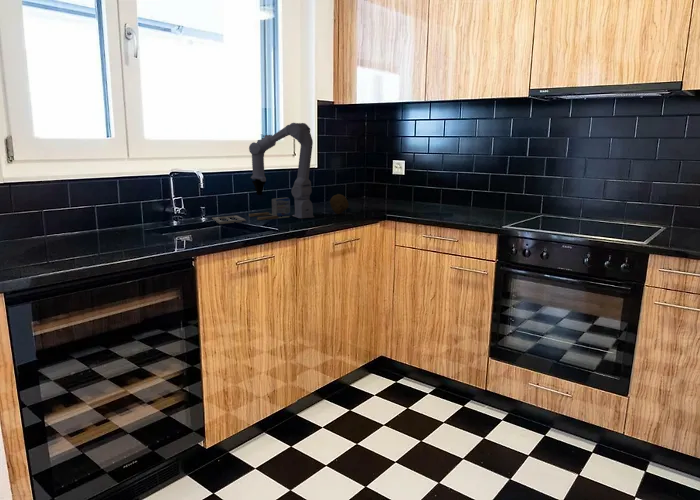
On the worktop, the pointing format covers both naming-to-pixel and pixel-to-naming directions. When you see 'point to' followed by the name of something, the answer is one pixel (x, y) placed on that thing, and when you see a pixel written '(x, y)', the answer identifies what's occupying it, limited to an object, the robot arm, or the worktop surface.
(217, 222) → the plate
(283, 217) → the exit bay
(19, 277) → the worktop surface
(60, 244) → the worktop surface
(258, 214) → the channel rails
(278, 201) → the medicine box
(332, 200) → the natural sponge
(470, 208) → the worktop surface
